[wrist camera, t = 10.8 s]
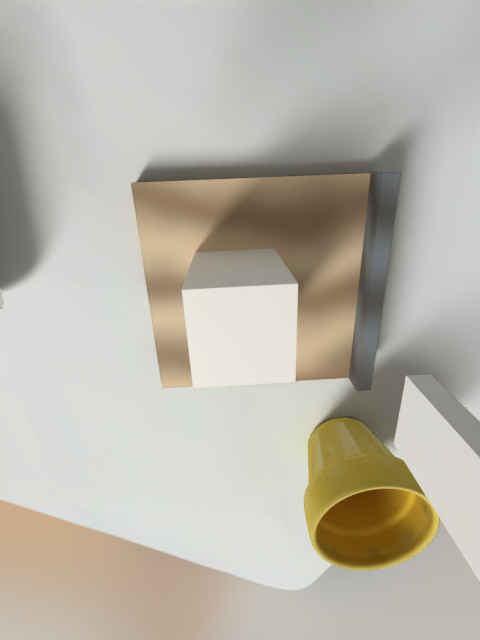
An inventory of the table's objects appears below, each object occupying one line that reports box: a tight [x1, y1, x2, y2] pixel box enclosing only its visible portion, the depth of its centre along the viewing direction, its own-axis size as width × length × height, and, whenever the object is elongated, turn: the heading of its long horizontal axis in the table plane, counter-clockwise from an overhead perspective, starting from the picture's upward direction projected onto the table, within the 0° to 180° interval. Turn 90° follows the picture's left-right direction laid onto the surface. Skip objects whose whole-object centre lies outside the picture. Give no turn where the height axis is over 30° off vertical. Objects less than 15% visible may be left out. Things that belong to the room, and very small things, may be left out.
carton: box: [182, 248, 298, 388], centre depth 23 cm, size 6×6×9 cm
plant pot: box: [304, 417, 440, 571], centre depth 31 cm, size 10×10×10 cm
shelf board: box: [131, 172, 401, 391], centre depth 27 cm, size 17×18×4 cm
